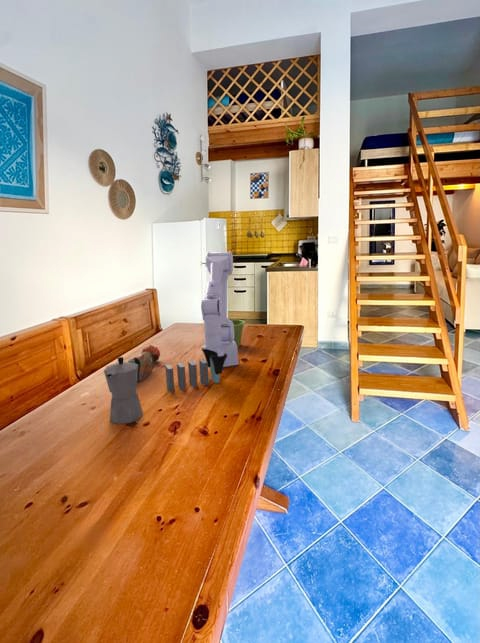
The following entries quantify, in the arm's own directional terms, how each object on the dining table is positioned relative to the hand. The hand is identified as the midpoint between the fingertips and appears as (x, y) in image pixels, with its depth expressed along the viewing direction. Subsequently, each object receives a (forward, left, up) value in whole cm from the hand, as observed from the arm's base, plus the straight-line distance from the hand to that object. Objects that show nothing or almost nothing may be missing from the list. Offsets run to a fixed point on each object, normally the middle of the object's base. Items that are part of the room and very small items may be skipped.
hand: (214, 370), depth 133 cm
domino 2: (+12, 0, -4) cm, 13 cm away
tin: (+22, -17, -4) cm, 29 cm away
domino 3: (+8, 0, -4) cm, 9 cm away
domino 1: (+16, 0, -4) cm, 16 cm away
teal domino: (0, 0, -4) cm, 4 cm away
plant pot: (-22, -36, -4) cm, 42 cm away
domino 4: (+4, 0, -4) cm, 6 cm away
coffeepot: (+32, +13, -4) cm, 34 cm away
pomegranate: (+16, -31, -4) cm, 35 cm away
